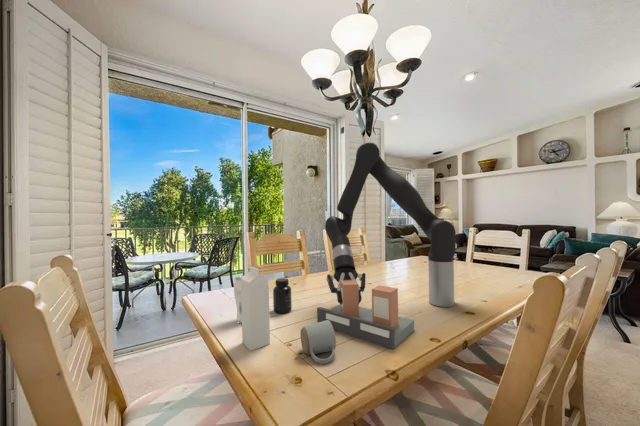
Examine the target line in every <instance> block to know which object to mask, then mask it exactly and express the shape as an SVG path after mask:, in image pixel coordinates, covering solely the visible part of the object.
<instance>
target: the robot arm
mask: <svg viewBox="0 0 640 426" xmlns="http://www.w3.org/2000/svg"><path fill="white" fill-rule="evenodd" d="M369 175H371V176H372V177H373V178H374V179H375V180H376V181H377V183H378V184H379V185H380V186H381V187H382V189H383V190H384V191H385V192H386V193H387V195H388V196H389V197H390V198H391V199H392V201H394V202H395V204H396V205H398V206H399V207H400V209H401V210H403V212H405V213H406V214H407V215H408V216H409V217H411V219H413V220H414V221H415V222H416V224H417V225H418V226H419V228H420V229H421V231H422V232H423V233H424V234H425V236H426V237H427V238H428V239H429V240H430V250H429V252H428V254H427V255H428V256H427V258H428V303H429V304H431V305H433V306H436V307H441V308H442V307H443V308H449V307H450V308H451V307H453V306H454V305H455V268H454V267H455V265H454V263H455V262H454V259H455V258H454V257H455V253H456V245H457V243H456V240H457V239H456V238H457V237H456V235H457V232H456V228H455V226H454V225H453V223H451V222H450V221H448V220H443V219H440V218H438V216H437V215H435V214H434V213H433V212H432V211H431V209H429V208H428V207H427V204H426V203H425V202H424V199H423V198H422V197H421V195H420V193H419V191H418V190H417V189H416V188H415V187H414V186H413V185H412V184H411V182H409V181H408V179H406V178H405V177H403V175H401V174H399V173H397V171H395V170H394V169H392V168H391V167H390V166H389V165H387V164H386V162H385V161H384V160H383V159H382V157H381V152H380V149H379V147H378V145H377V144H375V143H374V142H371V141H368V142H367V141H366V142H363V143H362V144H360V146H358V148H357V149H356V153H355V161H354V166H353V169H352V172H351V174H350V176H349V179H348V181H347V183H346V185H345V187H344V188H343V192H342V194H341V196H340V199H339V201H338V202H337V206H336V210H337V211H338V212H339V213H341V214H342V218H340V217H338V216H333V215H332V216H329V217H328V218H327V219H326V221H325V224H324V225H325V226H324V227H325V228H324V229H325V233H326V235H327V236H328V238H329V239H328V240H329V241H330V243H331V248H332V249H331V251H332V262H333V271H334V273H333V274H327V275H326V281H327V285H328V288H329V291H330V292H331V294H335V295H336V301H337V303H338V304H339V305H341V304H342V302H343V301H342V294H341V291H340V290H341V281H343V280H355V281H356V282H357V283H358V281H360V285H359V284H358V289H359V304H360V303H361V302H362V293H364V291H365V288H366V273H365V272H363V273H358V271H357V270H356V265H355V260H354V255H353V251H352V248H351V242H350V238H349V237H348V236H349V233H350V232H351V229H352V222H353V217H354V212H355V209H356V206H357V204H358V202H359V199H360V197H361V193H362V191H363V189H364V185H365V182H366V181H367V178H368V177H369ZM357 278H358V281H357ZM334 280H335V281H336V282H337V283H338V284H337V287H335V284H334Z"/></svg>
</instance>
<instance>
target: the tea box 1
mask: <svg viewBox="0 0 640 426" xmlns="http://www.w3.org/2000/svg"><path fill="white" fill-rule="evenodd" d="M356 281H357V280H356ZM356 281H355V280H343V281H341V290H340V291H341V294H342V301H343V302H342V304H341V313H343V314H347V315H350V316H354V317H358V318H359V307H360V305H359V289H358V285H359V283H358V281H357V282H356Z"/></svg>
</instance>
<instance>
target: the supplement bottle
mask: <svg viewBox="0 0 640 426" xmlns="http://www.w3.org/2000/svg"><path fill="white" fill-rule="evenodd" d="M289 284H290V283H289V279H288V278H285V277H283V278H282V277H281V278H276V279H275V286H274V288H273V290H272V292H273V293H272V295H273V296H272V297H273V298H272V299H273V302H272V303H273V312H274V313H275V314H278V315H286V314H289V313H290V312H291V311H292V307H293V305H292V303H293V302H292V288H291V286H290V285H289Z"/></svg>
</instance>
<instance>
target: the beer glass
mask: <svg viewBox="0 0 640 426" xmlns="http://www.w3.org/2000/svg"><path fill="white" fill-rule="evenodd" d="M243 276H244V275H240V276H236V277H235V278H234V284H233V294H234V295H233V296H234V300H235V305H236V319H235V322H236V321H237V322H239V323H238V324H240V323H242V301H241V278H242V277H243ZM237 322H236V323H237Z"/></svg>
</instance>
